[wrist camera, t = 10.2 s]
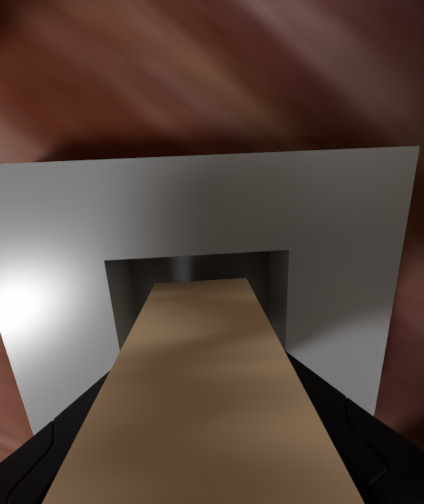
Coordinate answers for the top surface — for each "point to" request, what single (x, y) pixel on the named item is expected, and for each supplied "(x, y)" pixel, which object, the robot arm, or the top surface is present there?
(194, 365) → the maple block
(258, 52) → the top surface
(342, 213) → the pocket plate
